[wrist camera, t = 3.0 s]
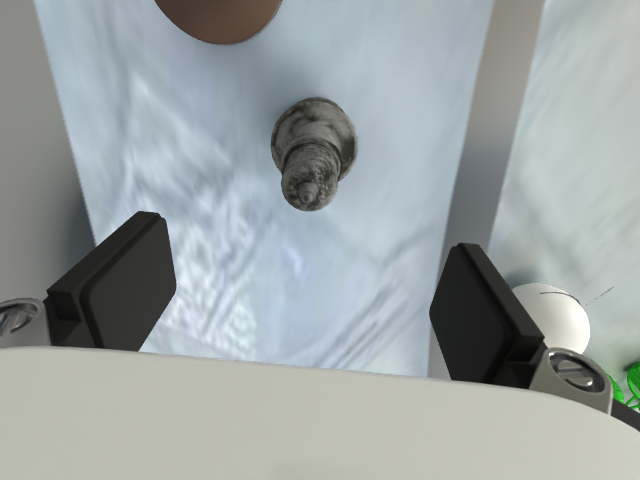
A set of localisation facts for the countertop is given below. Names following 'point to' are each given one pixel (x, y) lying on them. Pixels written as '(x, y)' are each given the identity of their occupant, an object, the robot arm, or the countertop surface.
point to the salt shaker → (313, 152)
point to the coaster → (220, 18)
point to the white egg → (556, 315)
